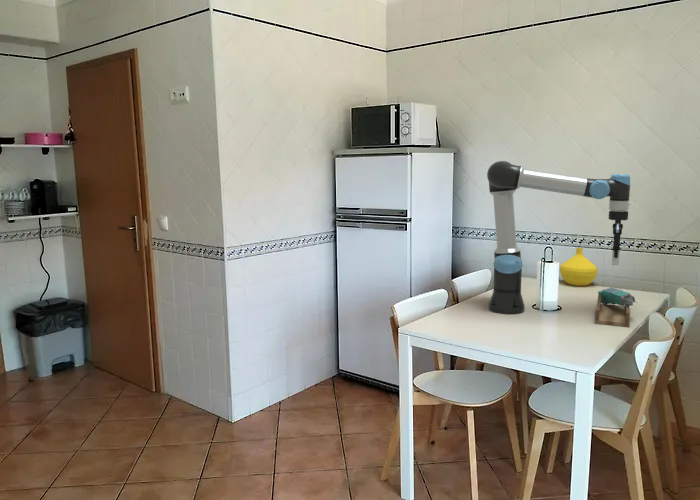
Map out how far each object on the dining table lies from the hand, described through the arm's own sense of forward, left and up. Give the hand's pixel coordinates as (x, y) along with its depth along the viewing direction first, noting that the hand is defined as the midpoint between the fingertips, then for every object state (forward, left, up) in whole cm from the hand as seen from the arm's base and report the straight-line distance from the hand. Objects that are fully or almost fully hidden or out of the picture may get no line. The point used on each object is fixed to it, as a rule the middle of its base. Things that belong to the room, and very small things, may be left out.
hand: (615, 264), depth 238 cm
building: (-3, +4, -15) cm, 16 cm away
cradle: (0, -14, -19) cm, 24 cm away
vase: (-17, +46, -20) cm, 53 cm away
